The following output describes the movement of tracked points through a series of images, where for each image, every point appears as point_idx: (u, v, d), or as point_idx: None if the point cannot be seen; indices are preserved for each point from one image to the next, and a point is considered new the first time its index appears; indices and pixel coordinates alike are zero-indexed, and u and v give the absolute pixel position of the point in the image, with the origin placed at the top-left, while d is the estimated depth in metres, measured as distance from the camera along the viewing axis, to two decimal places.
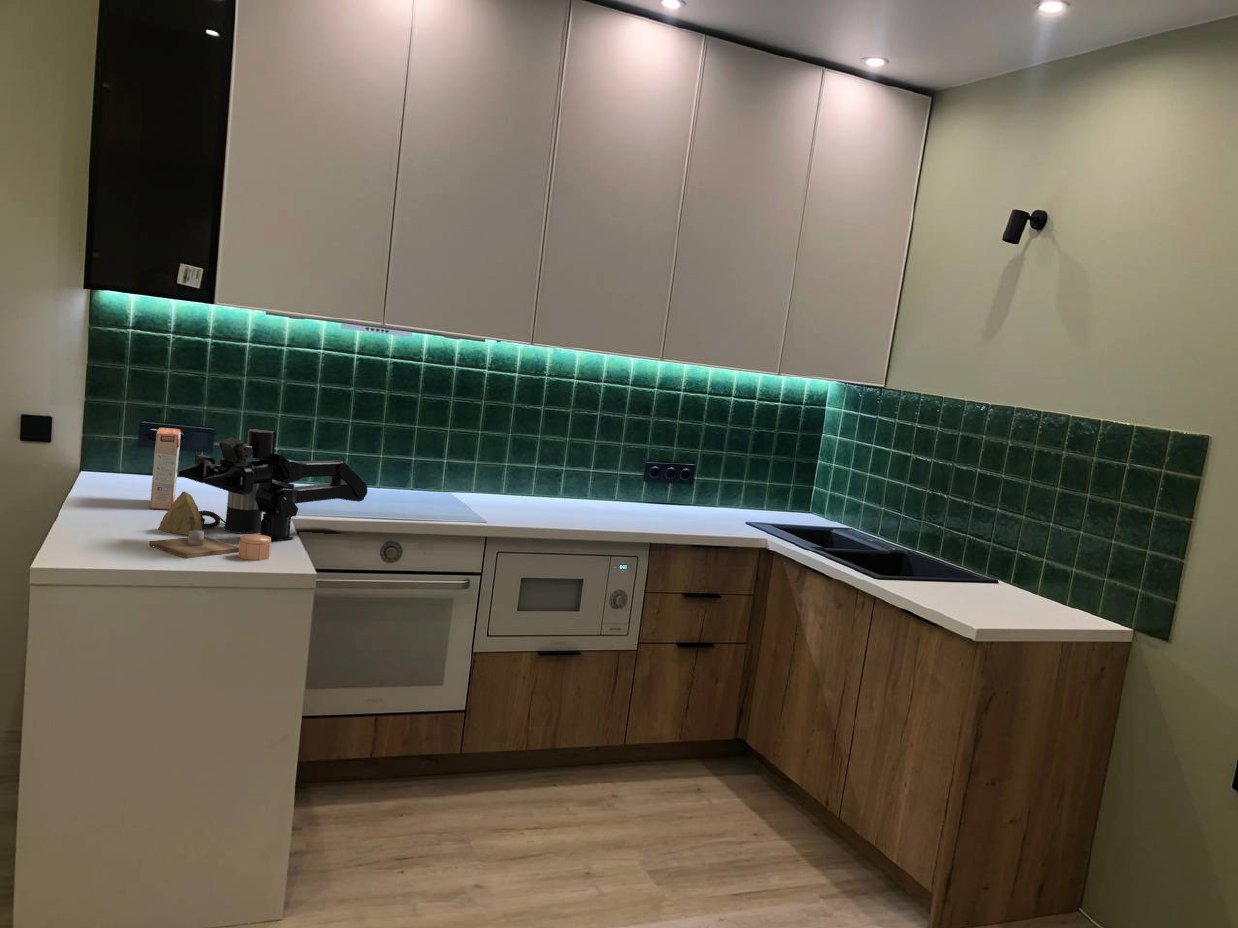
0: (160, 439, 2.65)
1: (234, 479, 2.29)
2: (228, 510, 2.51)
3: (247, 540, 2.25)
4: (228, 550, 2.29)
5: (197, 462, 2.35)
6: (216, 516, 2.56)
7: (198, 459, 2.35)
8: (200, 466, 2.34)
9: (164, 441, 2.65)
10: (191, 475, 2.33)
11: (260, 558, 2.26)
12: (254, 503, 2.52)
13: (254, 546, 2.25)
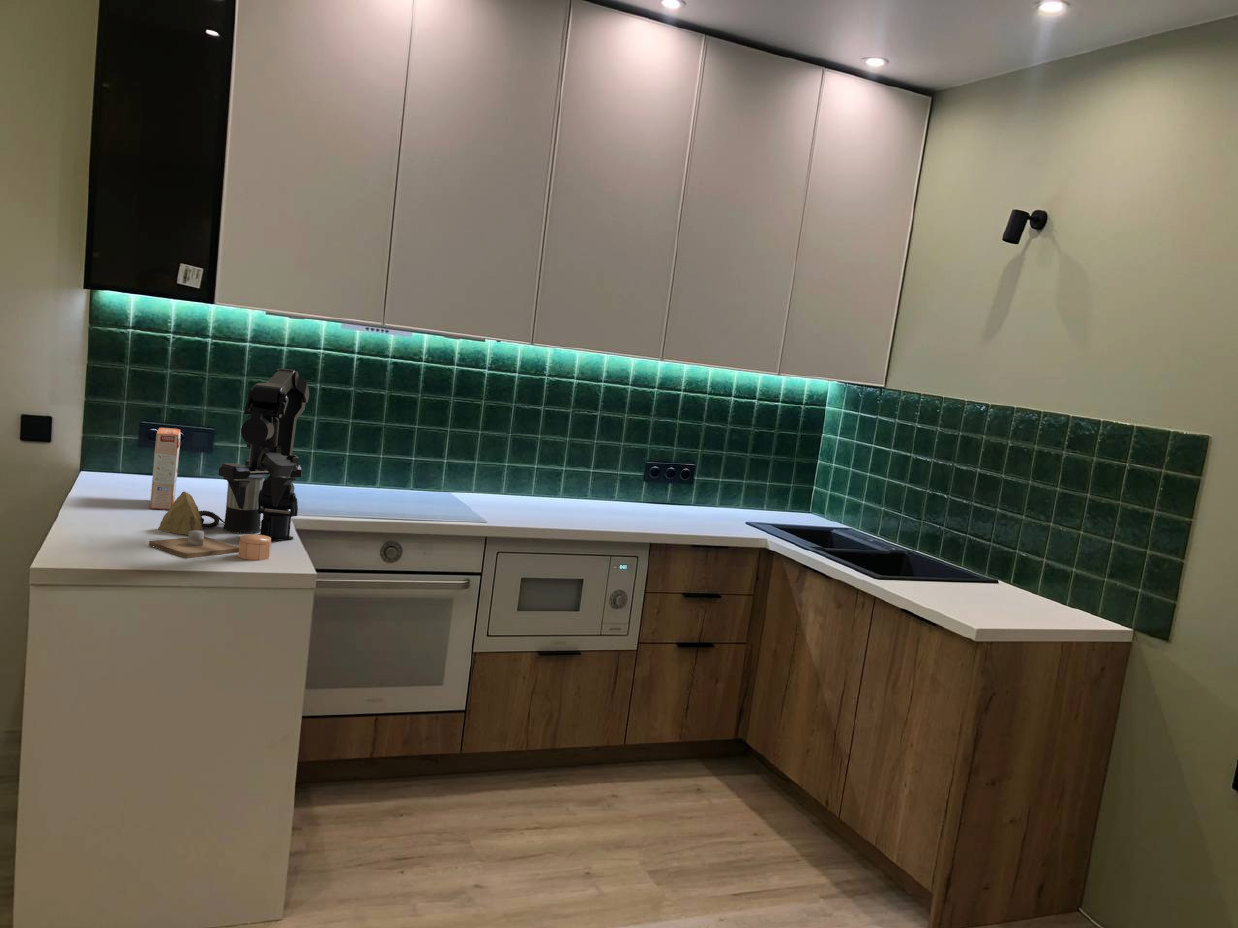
0: (160, 439, 2.65)
1: None
2: (227, 510, 2.51)
3: (247, 540, 2.25)
4: (228, 550, 2.29)
5: (243, 485, 2.21)
6: (215, 516, 2.56)
7: (243, 483, 2.20)
8: None
9: (164, 441, 2.65)
10: None
11: (260, 558, 2.26)
12: (253, 503, 2.51)
13: (254, 546, 2.25)
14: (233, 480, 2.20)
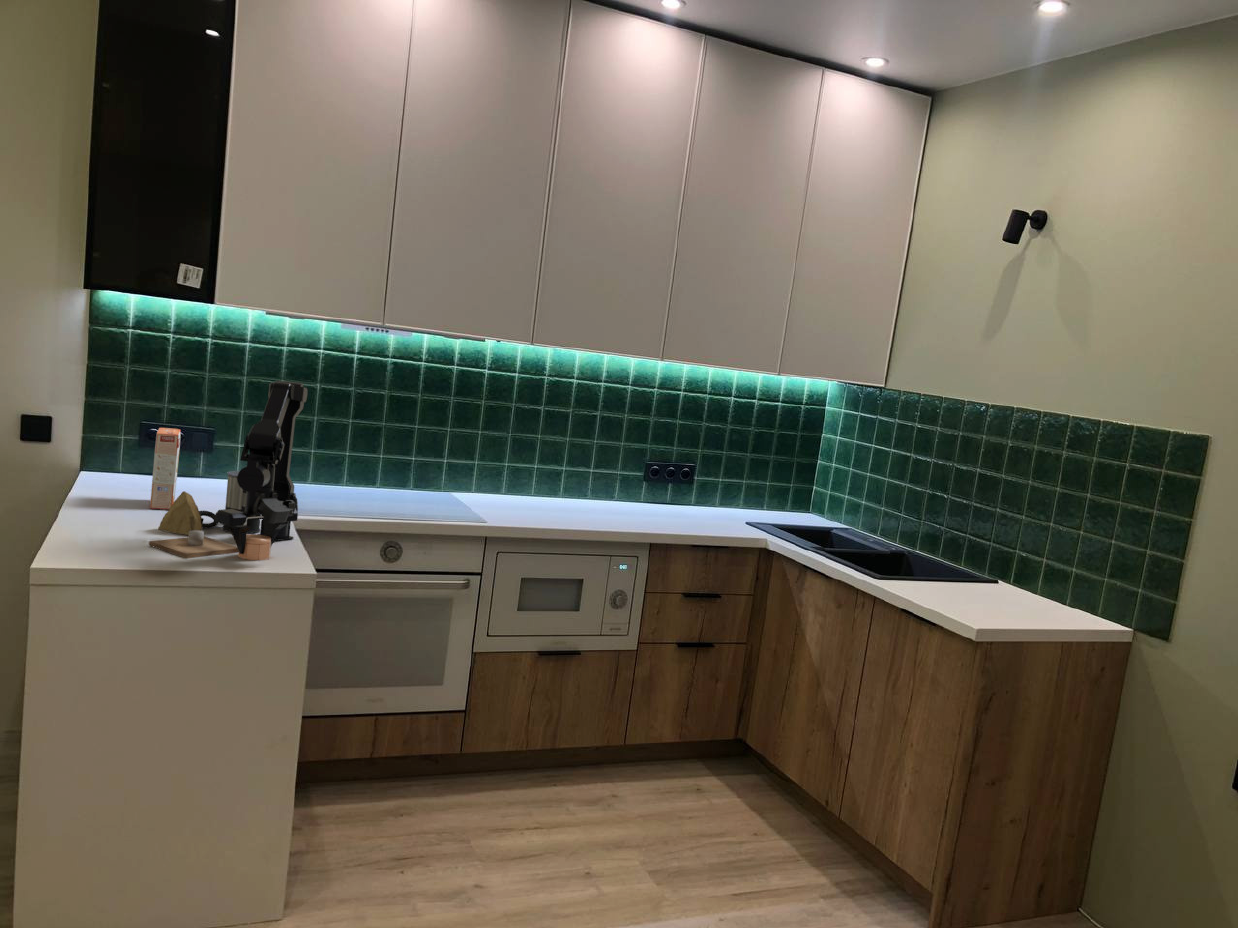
0: (160, 439, 2.65)
1: None
2: None
3: (247, 540, 2.25)
4: (228, 550, 2.29)
5: (243, 531, 2.23)
6: None
7: (243, 529, 2.22)
8: None
9: (164, 441, 2.65)
10: None
11: (260, 558, 2.26)
12: None
13: (254, 546, 2.25)
14: (234, 526, 2.22)
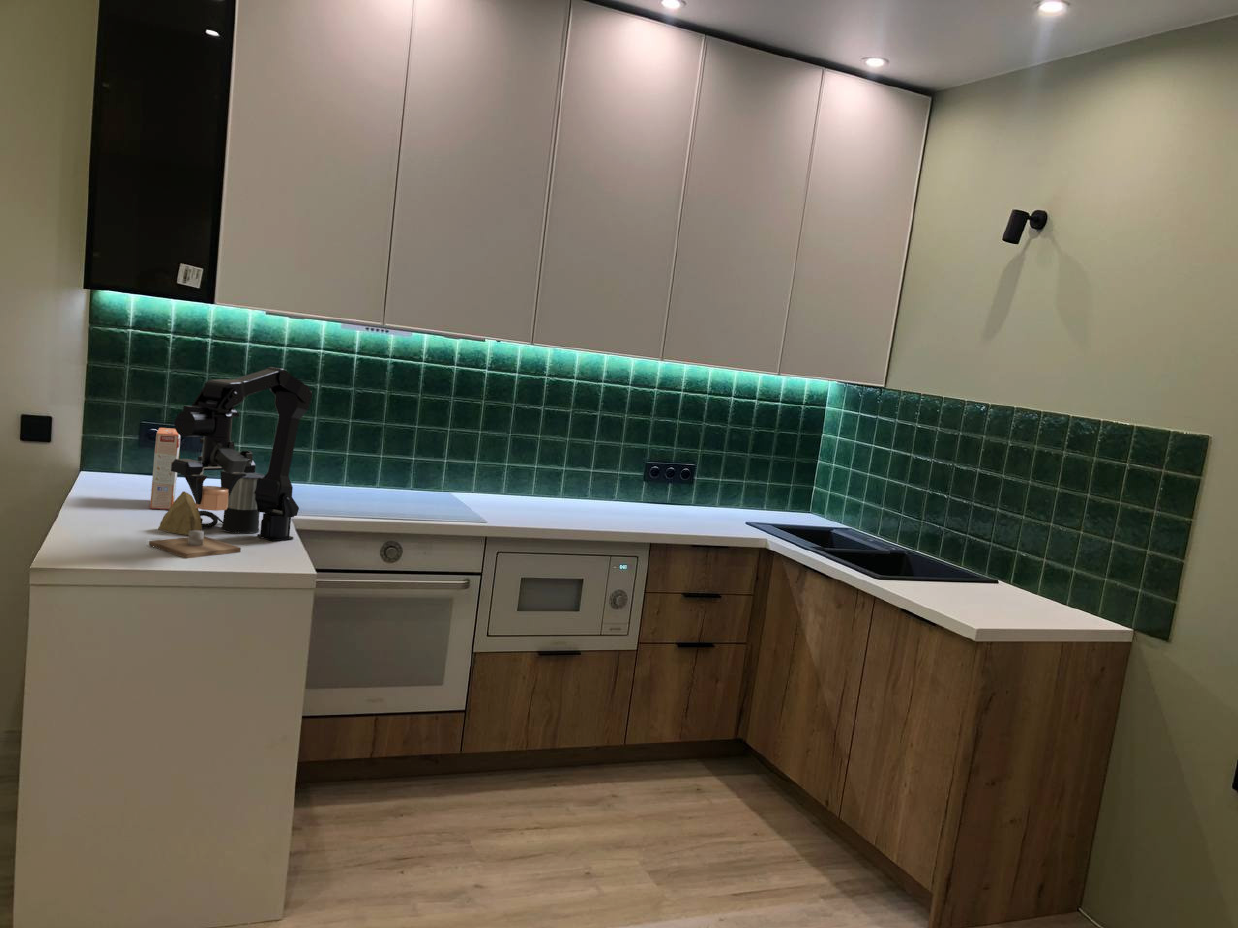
0: (160, 439, 2.65)
1: None
2: (225, 510, 2.51)
3: (204, 490, 2.24)
4: (228, 550, 2.29)
5: (200, 481, 2.22)
6: (214, 516, 2.56)
7: (200, 478, 2.21)
8: None
9: (164, 441, 2.65)
10: None
11: (217, 509, 2.25)
12: (251, 503, 2.51)
13: (211, 496, 2.24)
14: (190, 475, 2.21)
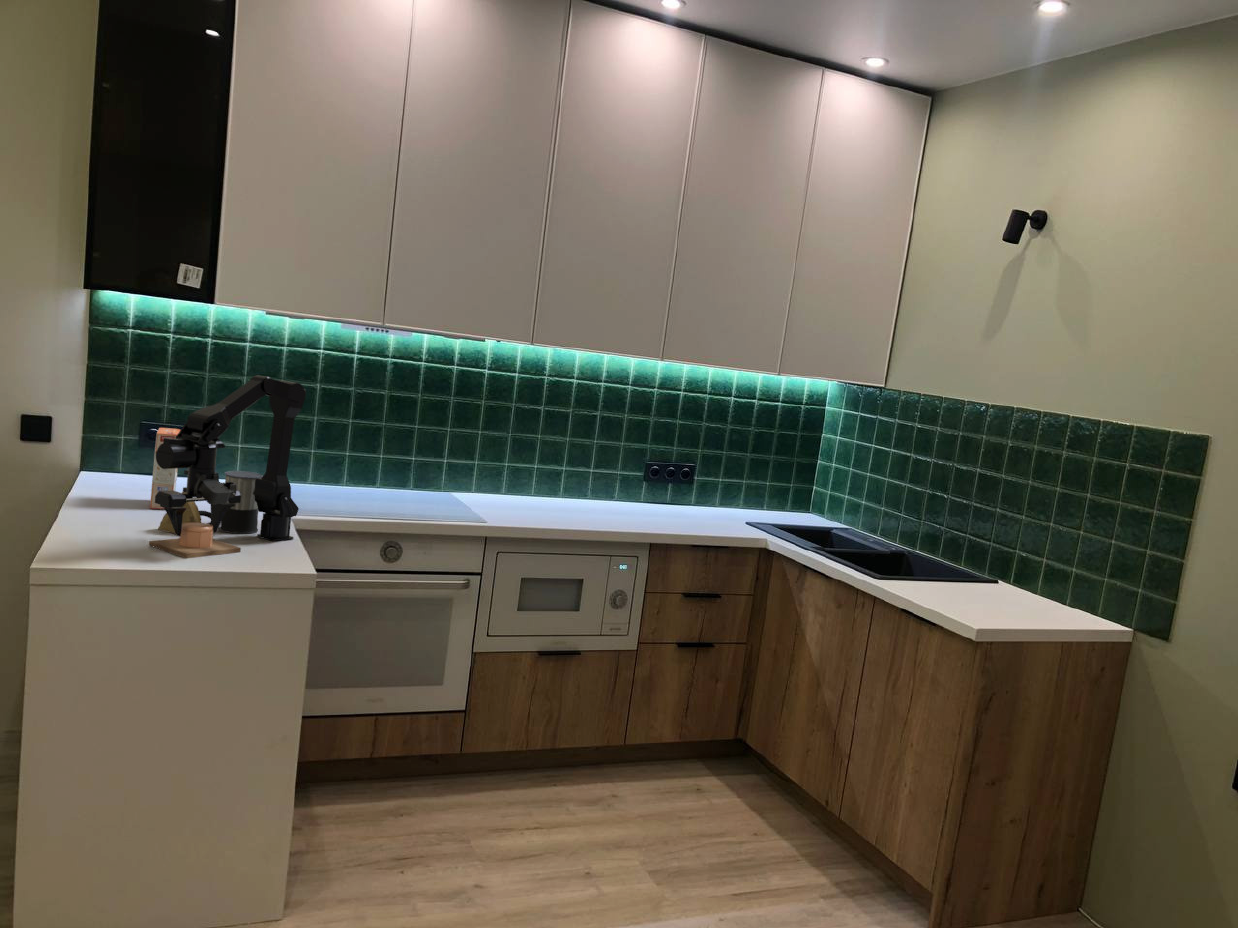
0: (160, 439, 2.65)
1: None
2: None
3: (188, 528, 2.25)
4: (228, 550, 2.29)
5: (179, 513, 2.22)
6: None
7: (179, 510, 2.21)
8: None
9: None
10: None
11: (201, 546, 2.27)
12: (250, 503, 2.51)
13: (195, 534, 2.26)
14: (169, 508, 2.21)
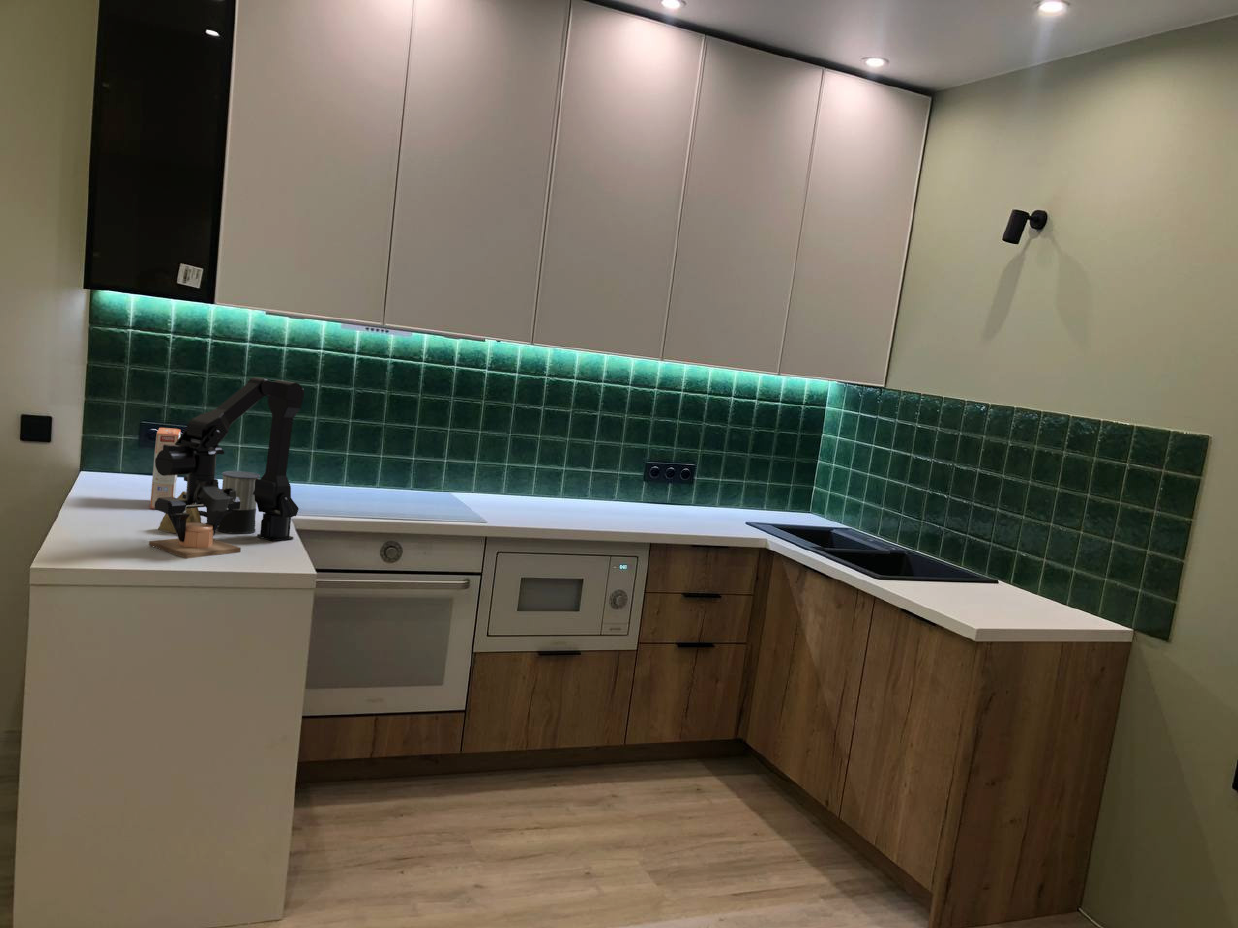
0: (160, 439, 2.65)
1: None
2: None
3: (207, 528, 2.27)
4: (228, 550, 2.29)
5: (183, 519, 2.23)
6: None
7: (182, 517, 2.22)
8: None
9: (164, 441, 2.65)
10: None
11: None
12: (247, 503, 2.50)
13: (211, 532, 2.29)
14: (173, 514, 2.22)
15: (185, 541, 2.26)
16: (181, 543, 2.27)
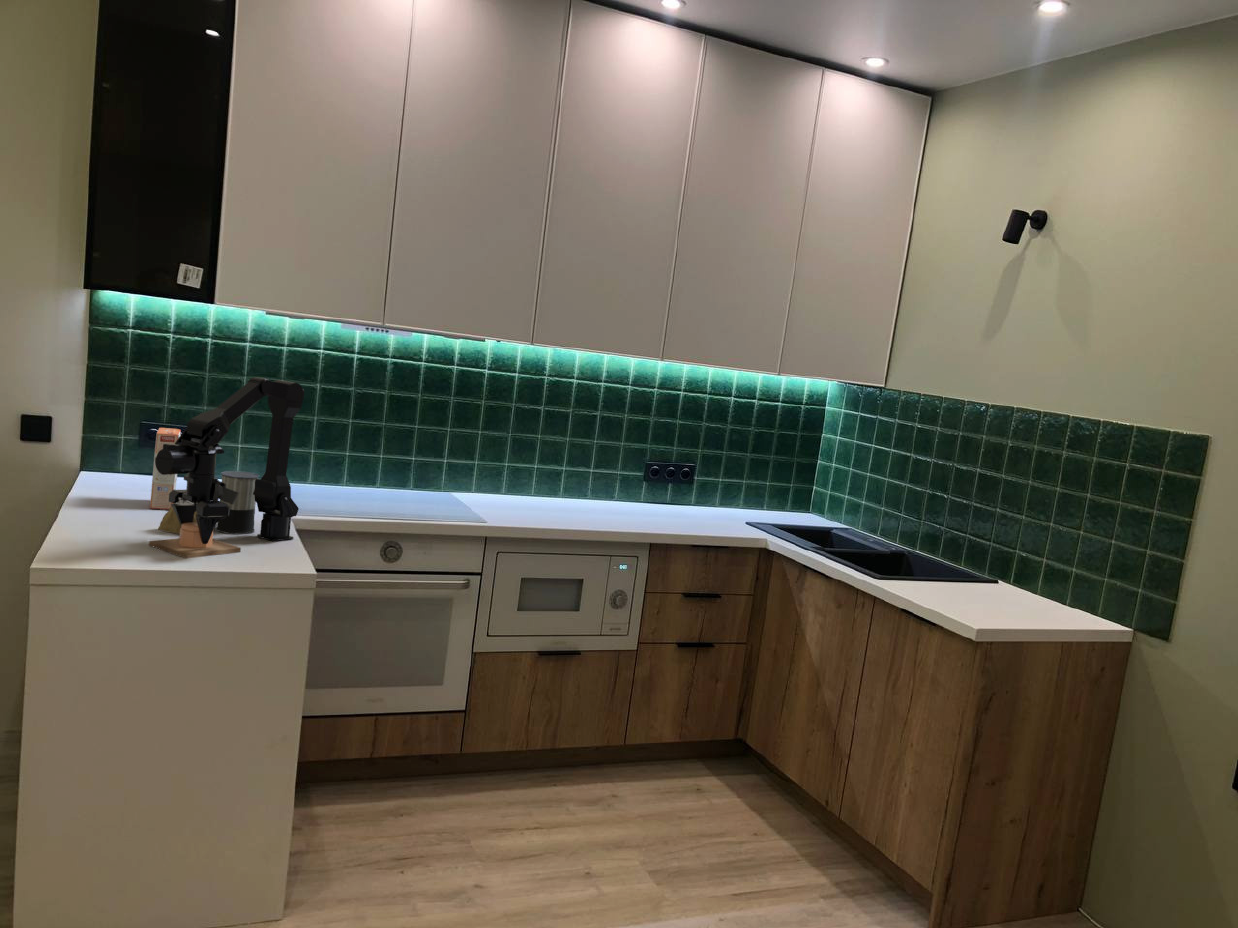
0: (160, 439, 2.65)
1: None
2: None
3: None
4: (228, 550, 2.29)
5: None
6: None
7: None
8: None
9: (164, 441, 2.65)
10: None
11: None
12: (246, 503, 2.50)
13: None
14: (218, 517, 2.24)
15: None
16: (199, 546, 2.26)
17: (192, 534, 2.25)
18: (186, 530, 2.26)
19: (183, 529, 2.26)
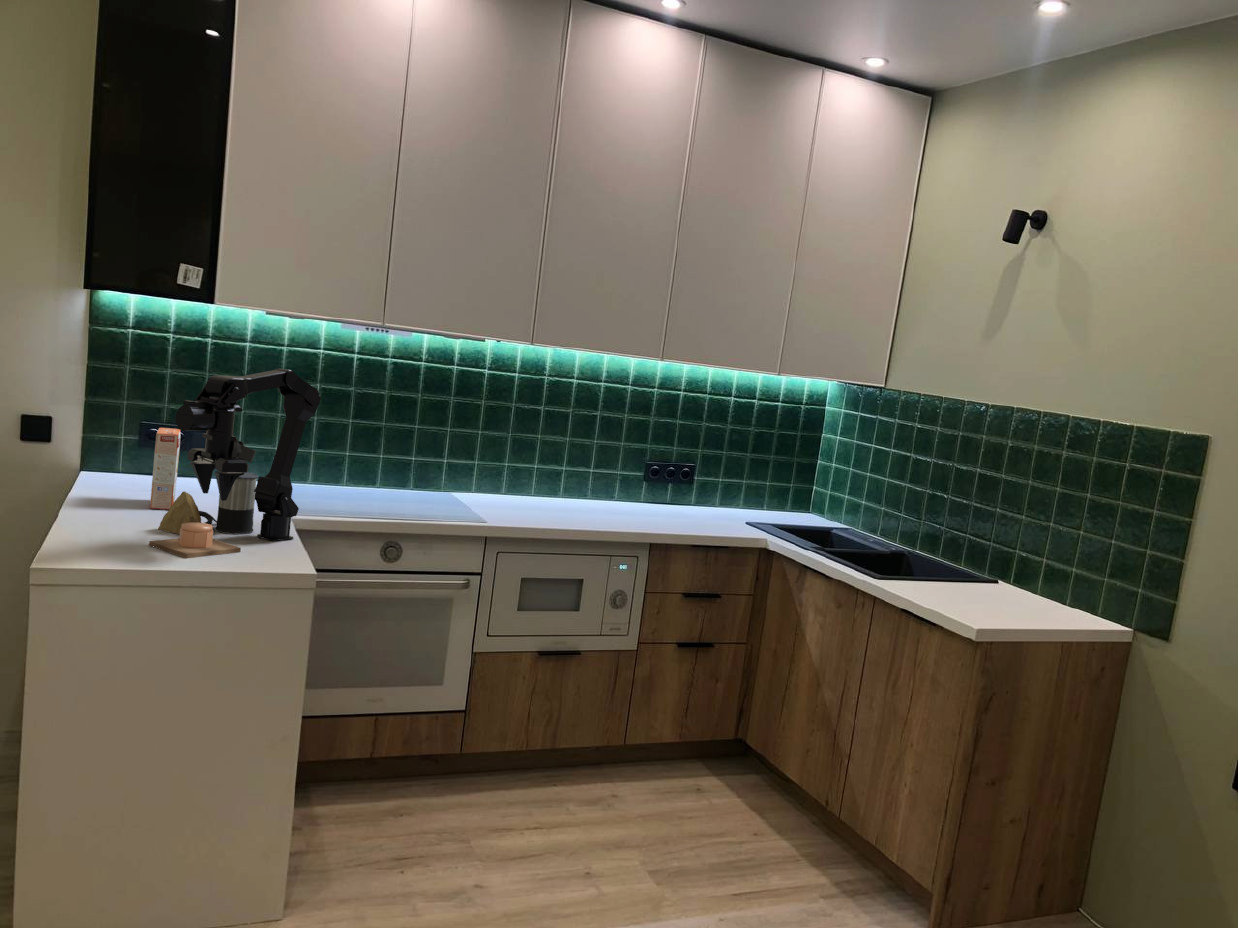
0: (160, 439, 2.65)
1: None
2: (219, 510, 2.50)
3: None
4: (228, 550, 2.29)
5: None
6: (209, 516, 2.55)
7: None
8: None
9: (164, 441, 2.65)
10: None
11: None
12: (244, 503, 2.50)
13: None
14: (237, 474, 2.26)
15: (206, 542, 2.27)
16: (199, 546, 2.26)
17: (192, 534, 2.25)
18: (186, 530, 2.26)
19: (183, 529, 2.26)
